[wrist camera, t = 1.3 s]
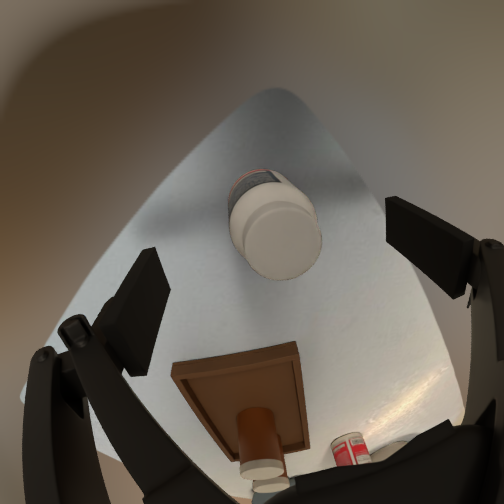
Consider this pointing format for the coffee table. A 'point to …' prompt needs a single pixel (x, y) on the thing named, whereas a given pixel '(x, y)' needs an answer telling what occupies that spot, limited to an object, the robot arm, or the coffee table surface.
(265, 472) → the amber bottle middle
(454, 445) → the robot arm
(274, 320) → the coffee table surface
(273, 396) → the tray
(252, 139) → the coffee table surface
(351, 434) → the pill bottle
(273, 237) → the pill bottle
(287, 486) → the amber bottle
